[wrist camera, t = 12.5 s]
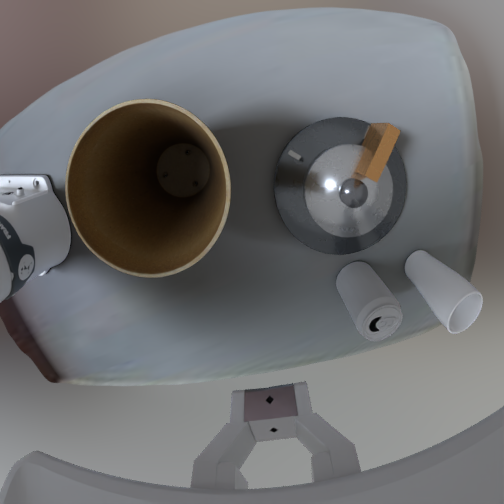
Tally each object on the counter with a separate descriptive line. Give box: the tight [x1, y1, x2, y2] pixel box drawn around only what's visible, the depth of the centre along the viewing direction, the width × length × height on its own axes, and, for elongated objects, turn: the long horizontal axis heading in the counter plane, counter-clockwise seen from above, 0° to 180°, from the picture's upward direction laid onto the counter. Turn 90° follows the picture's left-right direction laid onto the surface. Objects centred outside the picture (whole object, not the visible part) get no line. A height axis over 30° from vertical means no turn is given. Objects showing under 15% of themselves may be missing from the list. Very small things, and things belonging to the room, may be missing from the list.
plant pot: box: [65, 99, 231, 278], centre depth 27 cm, size 15×15×16 cm
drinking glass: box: [405, 250, 483, 334], centre depth 34 cm, size 7×7×15 cm
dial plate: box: [274, 117, 406, 255], centre depth 35 cm, size 19×19×2 cm
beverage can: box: [336, 262, 403, 341], centre depth 36 cm, size 6×6×12 cm
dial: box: [303, 123, 400, 237], centre depth 31 cm, size 16×12×5 cm
